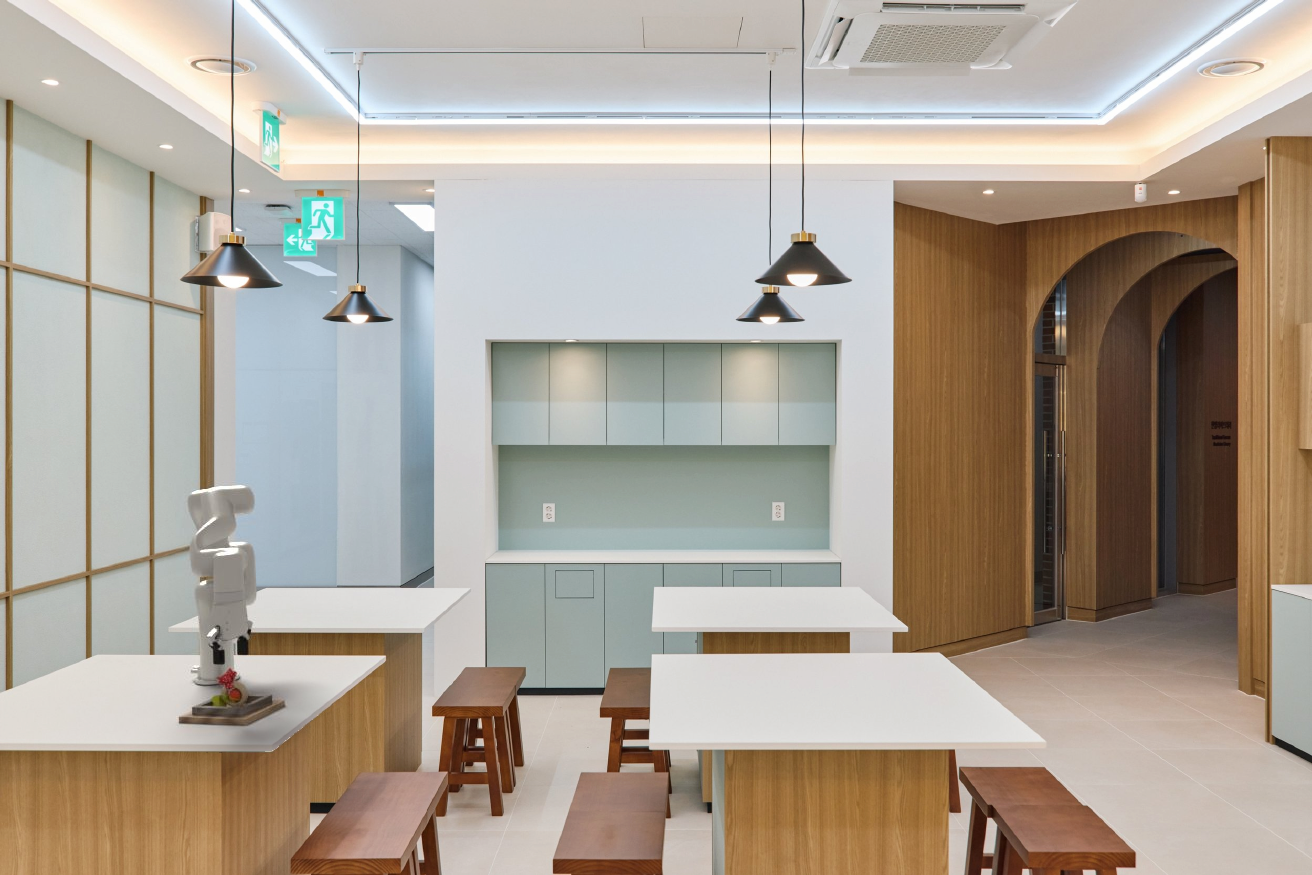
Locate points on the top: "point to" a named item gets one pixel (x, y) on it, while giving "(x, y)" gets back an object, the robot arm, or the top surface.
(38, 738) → the top surface
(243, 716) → the wooden tray
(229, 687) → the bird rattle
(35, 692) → the top surface
